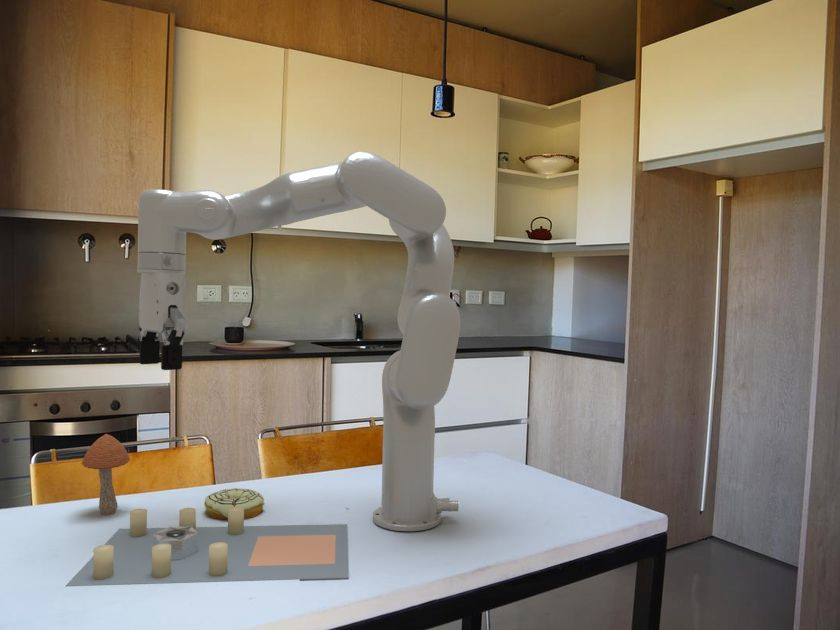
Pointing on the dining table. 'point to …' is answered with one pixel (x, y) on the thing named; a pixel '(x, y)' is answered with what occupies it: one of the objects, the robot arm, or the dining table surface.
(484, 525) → the dining table surface
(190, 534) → the hex nut
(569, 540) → the dining table surface
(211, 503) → the decorated donut
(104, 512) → the mushroom
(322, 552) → the spacer board
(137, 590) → the dining table surface
